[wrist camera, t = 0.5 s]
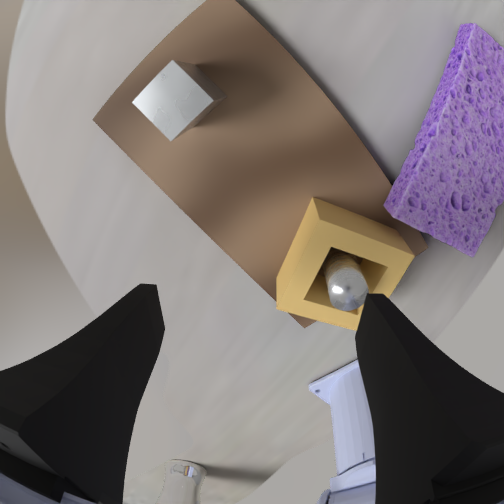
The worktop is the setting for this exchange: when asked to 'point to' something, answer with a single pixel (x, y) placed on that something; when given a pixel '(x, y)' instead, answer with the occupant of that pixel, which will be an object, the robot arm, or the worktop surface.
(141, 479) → the worktop surface
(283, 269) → the collar
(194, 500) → the beer glass
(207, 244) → the worktop surface
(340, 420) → the robot arm
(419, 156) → the sponges
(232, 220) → the stand board
